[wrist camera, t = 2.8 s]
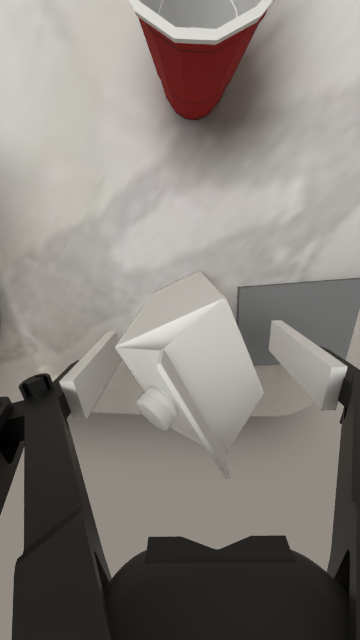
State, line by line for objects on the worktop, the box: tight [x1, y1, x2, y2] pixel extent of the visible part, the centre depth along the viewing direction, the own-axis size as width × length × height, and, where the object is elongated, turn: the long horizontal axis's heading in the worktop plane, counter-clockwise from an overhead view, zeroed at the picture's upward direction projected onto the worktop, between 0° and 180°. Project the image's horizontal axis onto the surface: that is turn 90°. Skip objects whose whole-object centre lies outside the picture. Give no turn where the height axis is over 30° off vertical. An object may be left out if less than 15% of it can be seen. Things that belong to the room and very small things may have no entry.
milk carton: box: [115, 271, 264, 479], centre depth 17 cm, size 7×7×19 cm
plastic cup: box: [128, 0, 275, 120], centre depth 12 cm, size 11×11×12 cm
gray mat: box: [237, 278, 360, 366], centre depth 26 cm, size 16×12×1 cm
